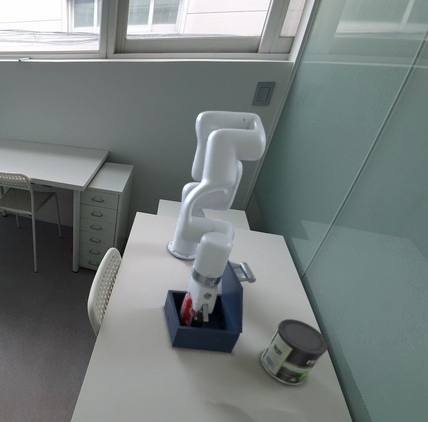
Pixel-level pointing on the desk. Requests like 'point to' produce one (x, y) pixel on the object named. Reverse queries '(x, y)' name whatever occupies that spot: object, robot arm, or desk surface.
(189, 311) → the soda can
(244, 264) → the bin lid
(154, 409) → the desk surface
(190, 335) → the bin
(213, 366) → the desk surface
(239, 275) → the mug
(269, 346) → the coffee can
